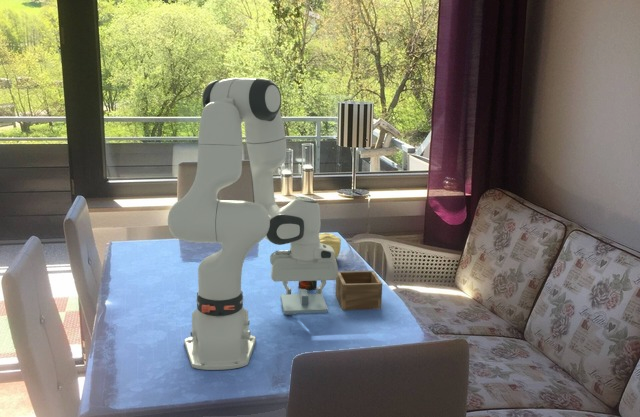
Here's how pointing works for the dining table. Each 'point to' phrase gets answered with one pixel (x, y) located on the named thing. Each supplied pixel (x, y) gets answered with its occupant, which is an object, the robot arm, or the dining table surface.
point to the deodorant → (308, 285)
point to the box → (358, 290)
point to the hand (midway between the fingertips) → (304, 293)
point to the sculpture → (331, 242)
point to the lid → (303, 303)
